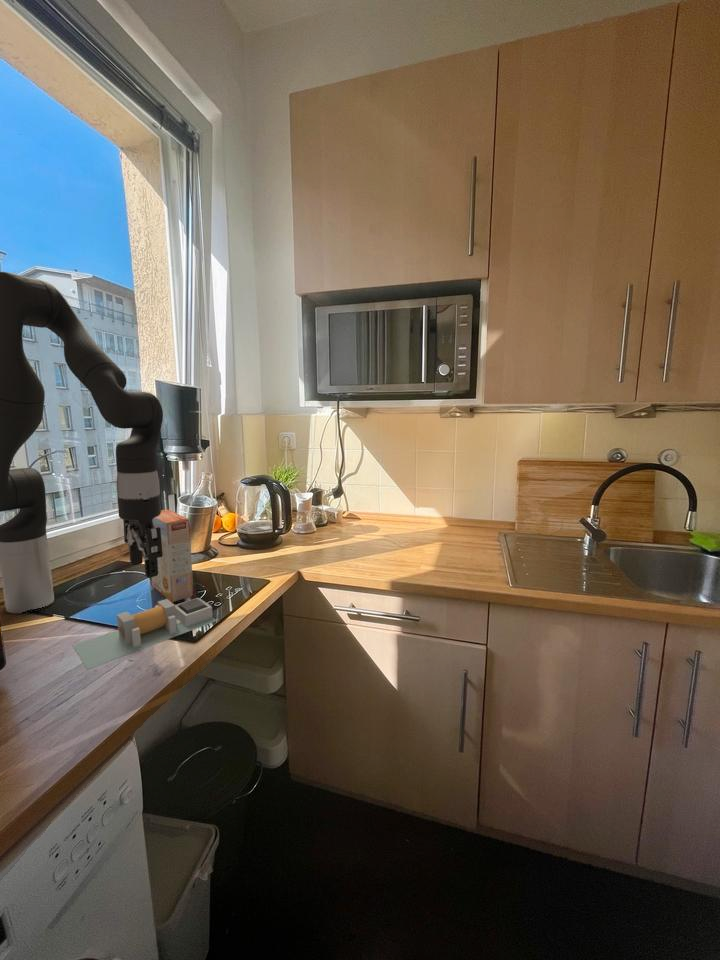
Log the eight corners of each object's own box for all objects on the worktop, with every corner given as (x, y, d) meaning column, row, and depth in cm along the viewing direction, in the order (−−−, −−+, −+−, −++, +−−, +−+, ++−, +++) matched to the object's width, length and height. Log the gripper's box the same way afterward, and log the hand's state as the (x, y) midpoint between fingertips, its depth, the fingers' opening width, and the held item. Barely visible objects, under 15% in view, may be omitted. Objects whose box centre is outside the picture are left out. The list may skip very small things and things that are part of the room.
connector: (180, 616, 94) (179, 604, 93) (197, 610, 97) (196, 598, 96) (188, 622, 91) (187, 610, 91) (205, 616, 94) (204, 604, 94)
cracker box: (195, 598, 105) (190, 518, 101) (170, 605, 101) (165, 522, 97) (174, 581, 115) (169, 508, 111) (151, 587, 111) (145, 511, 107)
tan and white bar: (119, 637, 85) (116, 614, 84) (168, 619, 92) (167, 598, 91) (126, 645, 82) (123, 622, 81) (176, 626, 89) (175, 605, 88)
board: (72, 649, 82) (70, 629, 81) (195, 607, 100) (194, 590, 99) (87, 673, 75) (85, 651, 74) (217, 623, 92) (216, 605, 92)
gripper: (106, 490, 84) (112, 565, 87) (130, 502, 75) (136, 586, 78) (145, 485, 90) (150, 556, 93) (173, 496, 80) (177, 575, 83)
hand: (144, 570), depth 85 cm, fingers open, 8 cm apart
